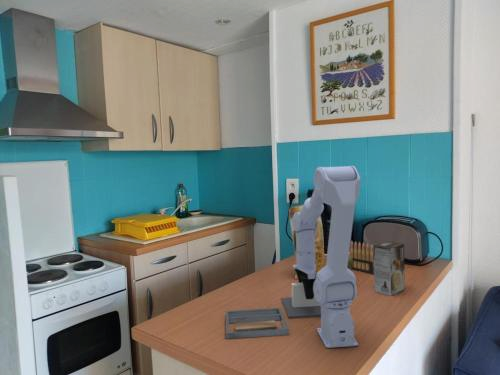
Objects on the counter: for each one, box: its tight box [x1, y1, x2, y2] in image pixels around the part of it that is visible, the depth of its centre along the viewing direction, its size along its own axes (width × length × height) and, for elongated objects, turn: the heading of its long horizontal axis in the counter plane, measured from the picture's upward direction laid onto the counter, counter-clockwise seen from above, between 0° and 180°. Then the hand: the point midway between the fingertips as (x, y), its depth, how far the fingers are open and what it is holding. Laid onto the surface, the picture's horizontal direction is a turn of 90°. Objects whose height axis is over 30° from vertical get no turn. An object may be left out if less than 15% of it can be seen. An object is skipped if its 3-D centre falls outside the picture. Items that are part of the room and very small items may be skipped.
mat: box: [280, 296, 321, 319], centre depth 110 cm, size 14×14×1 cm
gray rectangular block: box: [291, 282, 321, 308], centre depth 110 cm, size 2×9×7 cm, turn 94°
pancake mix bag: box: [288, 204, 325, 280], centre depth 140 cm, size 7×19×28 cm, turn 125°
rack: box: [225, 307, 290, 340], centre depth 99 cm, size 14×17×2 cm
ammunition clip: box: [349, 240, 374, 275], centre depth 143 cm, size 11×2×12 cm, turn 43°
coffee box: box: [373, 241, 405, 297], centre depth 121 cm, size 9×6×16 cm
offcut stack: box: [233, 320, 280, 332], centre depth 95 cm, size 4×12×2 cm, turn 94°
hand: (306, 294), depth 110 cm, fingers open, 7 cm apart
